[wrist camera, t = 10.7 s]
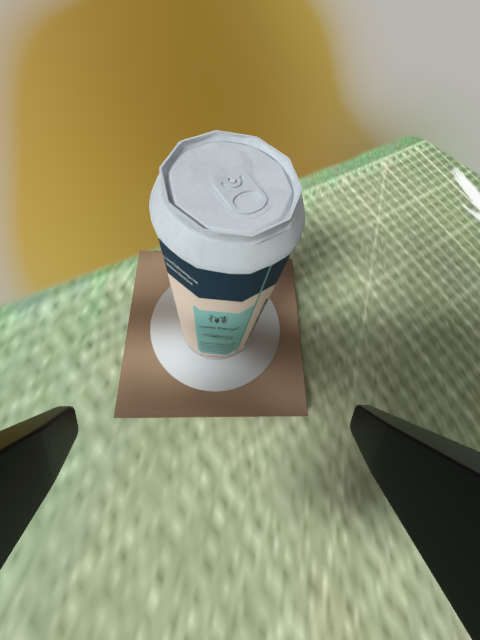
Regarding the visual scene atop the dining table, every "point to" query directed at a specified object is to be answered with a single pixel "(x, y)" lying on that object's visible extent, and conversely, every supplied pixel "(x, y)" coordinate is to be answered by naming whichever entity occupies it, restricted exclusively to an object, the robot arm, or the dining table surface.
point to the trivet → (207, 374)
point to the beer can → (225, 234)
